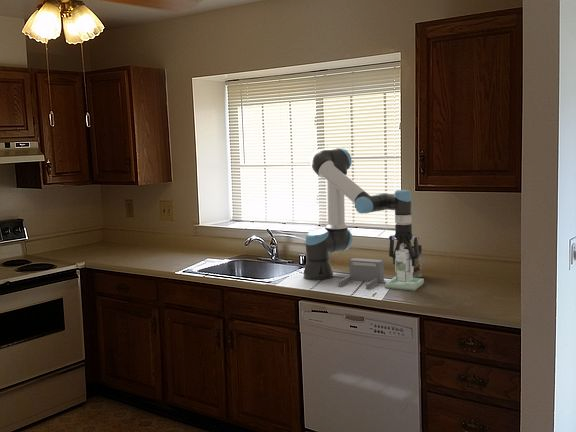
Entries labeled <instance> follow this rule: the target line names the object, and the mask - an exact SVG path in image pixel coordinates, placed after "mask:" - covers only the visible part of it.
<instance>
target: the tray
mask: <svg viewBox="0 0 576 432" xmlns="http://www.w3.org/2000/svg"><path fill="white" fill-rule="evenodd" d="M424 284H425V279H424V278H421V277H417V278H413V280H411V281H409V282H402V281H397V280H396V276H394V277H393V278H391V279H389V280H388V281H386V282H385V283H384V288H385V289H392V290H403V291H412V292H413V291H414V292H416V290H417V289H419V288H420V287H421V286H422V285H424Z"/></svg>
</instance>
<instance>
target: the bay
mask: <svg viewBox="0 0 576 432" xmlns="http://www.w3.org/2000/svg"><path fill="white" fill-rule="evenodd" d="M348 262H349V263H348V265H349V266H348V267H349V275H348V276H346V277H344V278H342V279H340V280H338V282H337V283H338V287H340V288H342V287H344V285H347V284H348V283H350V282H352V281H360V282H365V290H370V289H372V287H375V286H376V285H378V284H379V283H382V282H383V281H384V280H385V271H384V269H385V265H384V263H385V261H384V260H383V259H373V258H358V257H357V258H356V257H352V258H351V259H349V260H348ZM366 282H367V283H366Z"/></svg>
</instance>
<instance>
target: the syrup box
mask: <svg viewBox="0 0 576 432" xmlns="http://www.w3.org/2000/svg"><path fill="white" fill-rule="evenodd" d="M395 253H396V272H395V273H396V274H395V277H396V280H397V281H402V282H409V281H411V280H413V274H411V273H410V259H411V256H410V253H409V250H406V249H400V248H399V250H397V251H396V252H395Z"/></svg>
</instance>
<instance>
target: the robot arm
mask: <svg viewBox="0 0 576 432" xmlns="http://www.w3.org/2000/svg"><path fill="white" fill-rule="evenodd" d="M352 162H353V161H352V156H351V154H350V153H349V151H348V150H347V149H345V148H343V147H332V148H331V147H330V148H321V149H318V150H316V151H314V153H313V154H312V156H311V157H310V166H311V169H312V171H314V173H315V174H316V175H318V177H319V178H321V179H323V178H324V179H325V180H327V224H326V225H325V228H324V229H323V228H322V229H315V230H311V231H309V232H307V233H306V235H305V242H304V243H305V253H306V254H305V255H306V256H305V257H306V258H305V259H306V263H305V267H304V269H303V278H305V279H306V280H314V281H315V280H326V279H327V280H328V279H331V278H333V277H334V271H333V268H332V265H331V261H330V254H331V255H332V254H335V253H341V252H344V251H347V250H349V248H350V247H351V246H352V243H353V235H352V233H351V230H350V229H348V225H347V224H346V223H345V197H346V198H348V199H349V201H351V202H352V203H353V204H354V208H355V210H356V212H357V213H359V214H370V213H375V212H380V211H388V210H389V211H394V223H395V226H394V229H395V231H394V232H395V234H394V235H390V236H389V237H388V239H389V251H388V256H389V257H390V258H392V264H393V265H394V272H395V273H396V253H395V252H396V251H397V250H399V249H400V245H405V244H406V246H407V247H408V250H409V253H410V256H411V259H410V273H411V274H412V273H413V272H414V268H413V266H415V259H416V258H419V248H418V244H419V236H414V234H413V229H412V228H413V225H412V222H413V221H412V192H411V191H410V190H408V189H397V190H395V191H394V193H385V192H384V193H383V192H382V193H381V192H380V193H377V194H375V195H370V194H369V193H368V192H367V191H365V190H364V189H363V188H361V186H359V185H358V184H357V183H356V182H354V181H353V180H352V179H351V178H349V177H348V176H347V175H348V170H349V169H350V168H351V166H352ZM395 239H396V245H395ZM411 241H413V244H414V251H415V254H414V251H413V248H412V246H411V244H412V242H411Z"/></svg>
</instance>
